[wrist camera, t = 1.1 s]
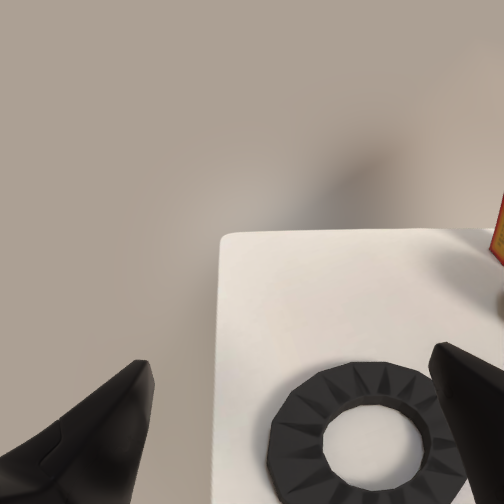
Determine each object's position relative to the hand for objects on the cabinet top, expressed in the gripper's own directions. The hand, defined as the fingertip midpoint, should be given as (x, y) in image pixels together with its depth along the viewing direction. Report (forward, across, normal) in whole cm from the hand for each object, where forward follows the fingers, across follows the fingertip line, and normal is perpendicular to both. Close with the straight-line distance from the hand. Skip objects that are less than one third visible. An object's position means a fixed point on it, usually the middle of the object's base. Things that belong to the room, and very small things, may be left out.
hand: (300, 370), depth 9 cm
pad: (+7, -8, +16) cm, 19 cm away
